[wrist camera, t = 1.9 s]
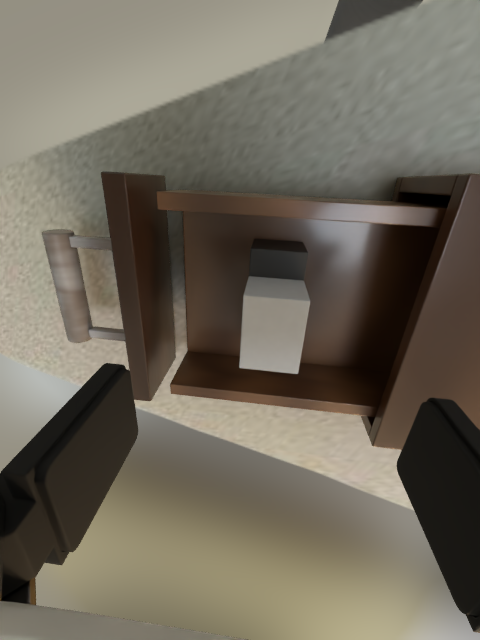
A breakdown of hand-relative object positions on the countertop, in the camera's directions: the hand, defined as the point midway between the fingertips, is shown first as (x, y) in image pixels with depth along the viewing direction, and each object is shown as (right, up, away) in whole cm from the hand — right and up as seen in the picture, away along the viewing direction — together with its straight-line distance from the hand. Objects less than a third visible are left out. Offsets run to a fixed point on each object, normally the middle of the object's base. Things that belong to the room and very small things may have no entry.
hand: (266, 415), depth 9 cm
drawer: (0, +5, +11) cm, 12 cm away
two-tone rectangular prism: (+1, +5, +10) cm, 11 cm away
